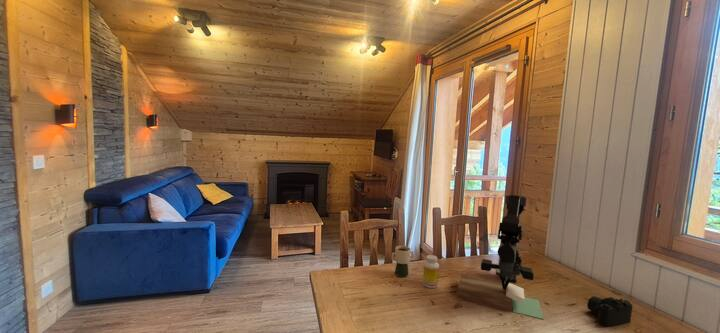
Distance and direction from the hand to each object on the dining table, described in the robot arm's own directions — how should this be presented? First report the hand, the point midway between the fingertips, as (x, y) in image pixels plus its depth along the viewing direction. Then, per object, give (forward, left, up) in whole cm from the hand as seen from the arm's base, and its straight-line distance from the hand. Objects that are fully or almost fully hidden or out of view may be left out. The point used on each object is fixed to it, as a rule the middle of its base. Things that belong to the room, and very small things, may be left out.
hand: (504, 289), depth 121 cm
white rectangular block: (0, +4, -1) cm, 4 cm away
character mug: (-2, -43, -5) cm, 44 cm away
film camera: (-6, +35, -5) cm, 36 cm away
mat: (0, +8, -5) cm, 10 cm away
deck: (0, -7, -5) cm, 9 cm away
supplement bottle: (+1, -29, -5) cm, 30 cm away
